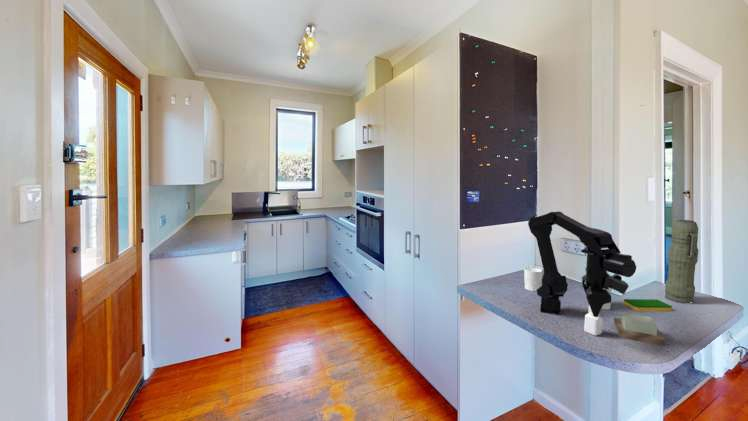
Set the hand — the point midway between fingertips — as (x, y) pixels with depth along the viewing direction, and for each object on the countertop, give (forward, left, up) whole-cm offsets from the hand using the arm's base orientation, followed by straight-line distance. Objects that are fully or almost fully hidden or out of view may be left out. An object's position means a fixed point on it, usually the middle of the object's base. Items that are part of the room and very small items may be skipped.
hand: (593, 311), depth 102 cm
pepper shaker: (0, 0, -8) cm, 8 cm away
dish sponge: (+22, +35, -9) cm, 42 cm away
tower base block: (+13, +6, -9) cm, 17 cm away
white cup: (-20, +36, -8) cm, 42 cm away
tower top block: (+13, +6, -5) cm, 15 cm away
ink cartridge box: (+5, +28, -8) cm, 29 cm away
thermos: (+36, +51, -8) cm, 63 cm away
